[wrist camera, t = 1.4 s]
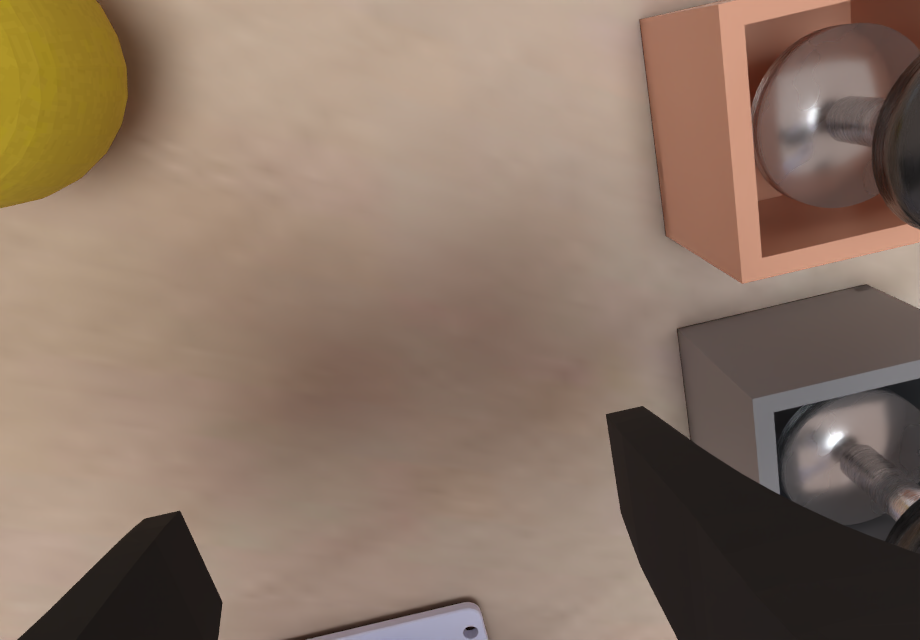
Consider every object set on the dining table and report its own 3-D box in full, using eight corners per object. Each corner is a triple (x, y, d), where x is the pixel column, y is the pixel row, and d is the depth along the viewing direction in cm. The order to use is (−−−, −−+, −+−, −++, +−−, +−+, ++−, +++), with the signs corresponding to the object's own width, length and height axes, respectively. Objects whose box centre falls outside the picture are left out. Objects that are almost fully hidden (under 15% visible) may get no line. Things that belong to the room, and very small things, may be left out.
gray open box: (912, 441, 24) (1036, 530, 20) (697, 492, 24) (768, 594, 20) (912, 273, 22) (1050, 329, 18) (677, 328, 22) (752, 399, 18)
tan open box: (912, 178, 21) (1057, 210, 17) (665, 235, 21) (742, 283, 17) (911, -44, 19) (1078, -79, 15) (639, 19, 19) (718, 4, 15)
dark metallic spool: (916, 182, 17) (1118, 227, 13) (755, 220, 17) (894, 280, 13) (916, 6, 16) (1142, -20, 11) (741, 46, 16) (891, 38, 11)
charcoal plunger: (915, 494, 21) (1078, 627, 16) (778, 526, 21) (898, 670, 16) (915, 368, 19) (1093, 471, 14) (769, 402, 19) (896, 517, 14)
